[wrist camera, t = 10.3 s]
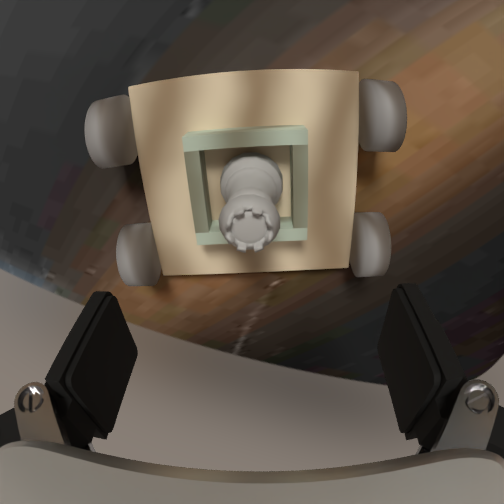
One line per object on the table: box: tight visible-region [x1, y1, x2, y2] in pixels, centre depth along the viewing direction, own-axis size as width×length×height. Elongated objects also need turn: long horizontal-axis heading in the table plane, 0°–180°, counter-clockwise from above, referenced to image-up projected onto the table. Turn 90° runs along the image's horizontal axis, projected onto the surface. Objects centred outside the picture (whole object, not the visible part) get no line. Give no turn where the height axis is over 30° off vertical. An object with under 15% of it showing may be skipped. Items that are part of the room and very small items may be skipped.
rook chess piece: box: [218, 152, 283, 253], centre depth 20 cm, size 4×4×8 cm
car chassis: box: [85, 69, 407, 286], centre depth 22 cm, size 20×16×5 cm
